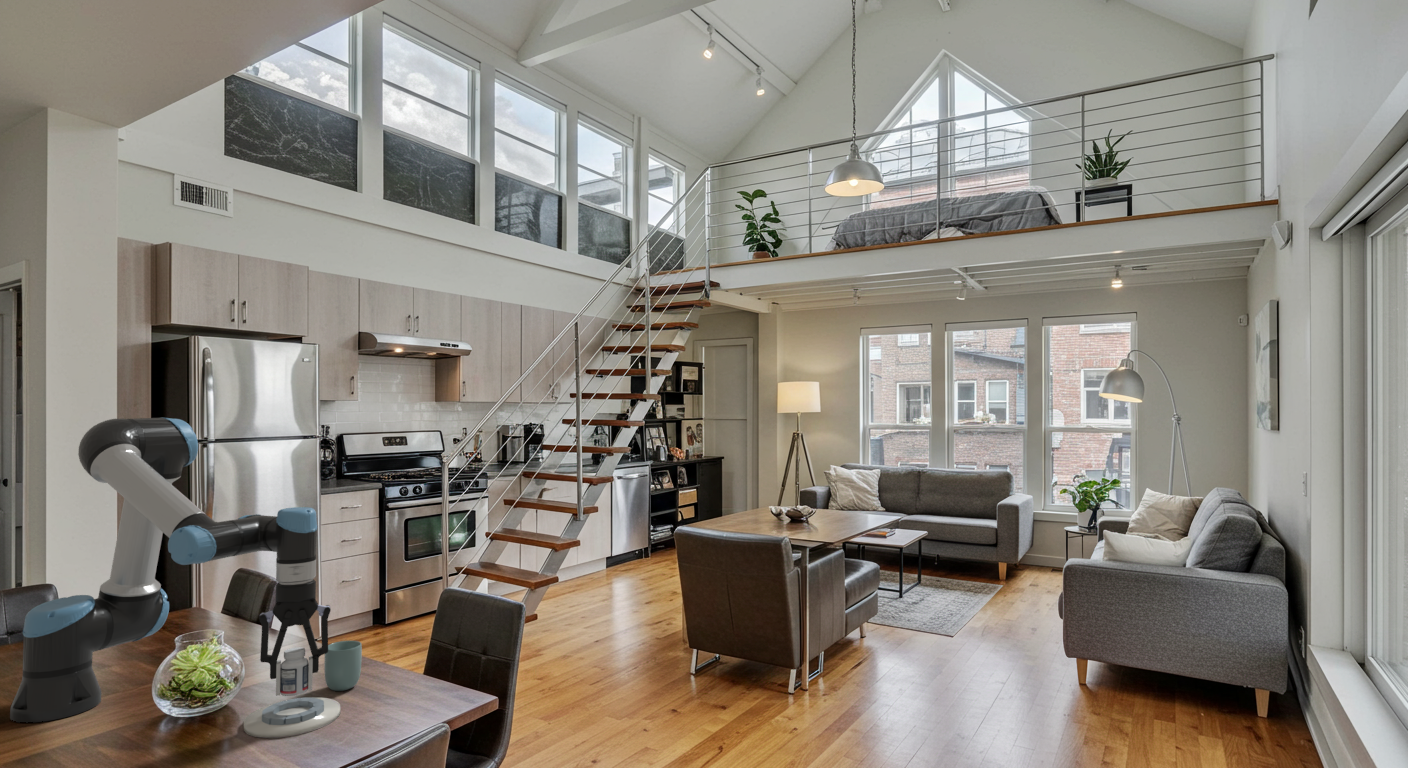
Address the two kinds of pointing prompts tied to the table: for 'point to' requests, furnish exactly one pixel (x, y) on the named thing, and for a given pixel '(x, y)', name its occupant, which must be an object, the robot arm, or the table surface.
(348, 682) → the cup
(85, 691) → the robot arm
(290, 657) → the pill bottle
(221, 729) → the table surface
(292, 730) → the tray
